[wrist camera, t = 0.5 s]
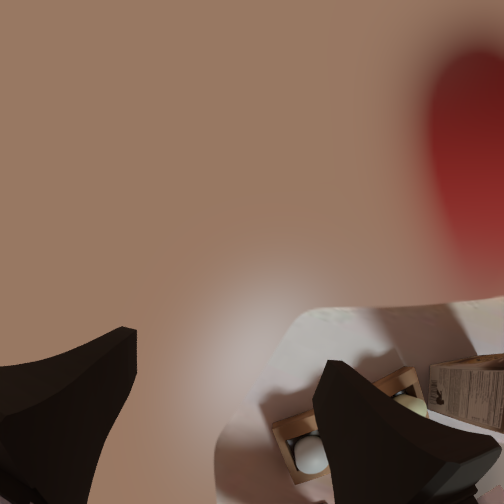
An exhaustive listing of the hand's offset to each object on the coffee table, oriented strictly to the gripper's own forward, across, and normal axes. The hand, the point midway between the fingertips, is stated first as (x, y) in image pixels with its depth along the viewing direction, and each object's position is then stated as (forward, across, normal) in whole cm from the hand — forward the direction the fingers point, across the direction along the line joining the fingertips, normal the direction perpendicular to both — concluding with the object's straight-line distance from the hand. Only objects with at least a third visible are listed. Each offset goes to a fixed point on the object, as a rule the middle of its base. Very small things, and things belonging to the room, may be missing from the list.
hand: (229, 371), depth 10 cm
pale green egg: (+12, -21, +13) cm, 27 cm away
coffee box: (+14, -30, +11) cm, 35 cm away
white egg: (+12, -11, +19) cm, 25 cm away
